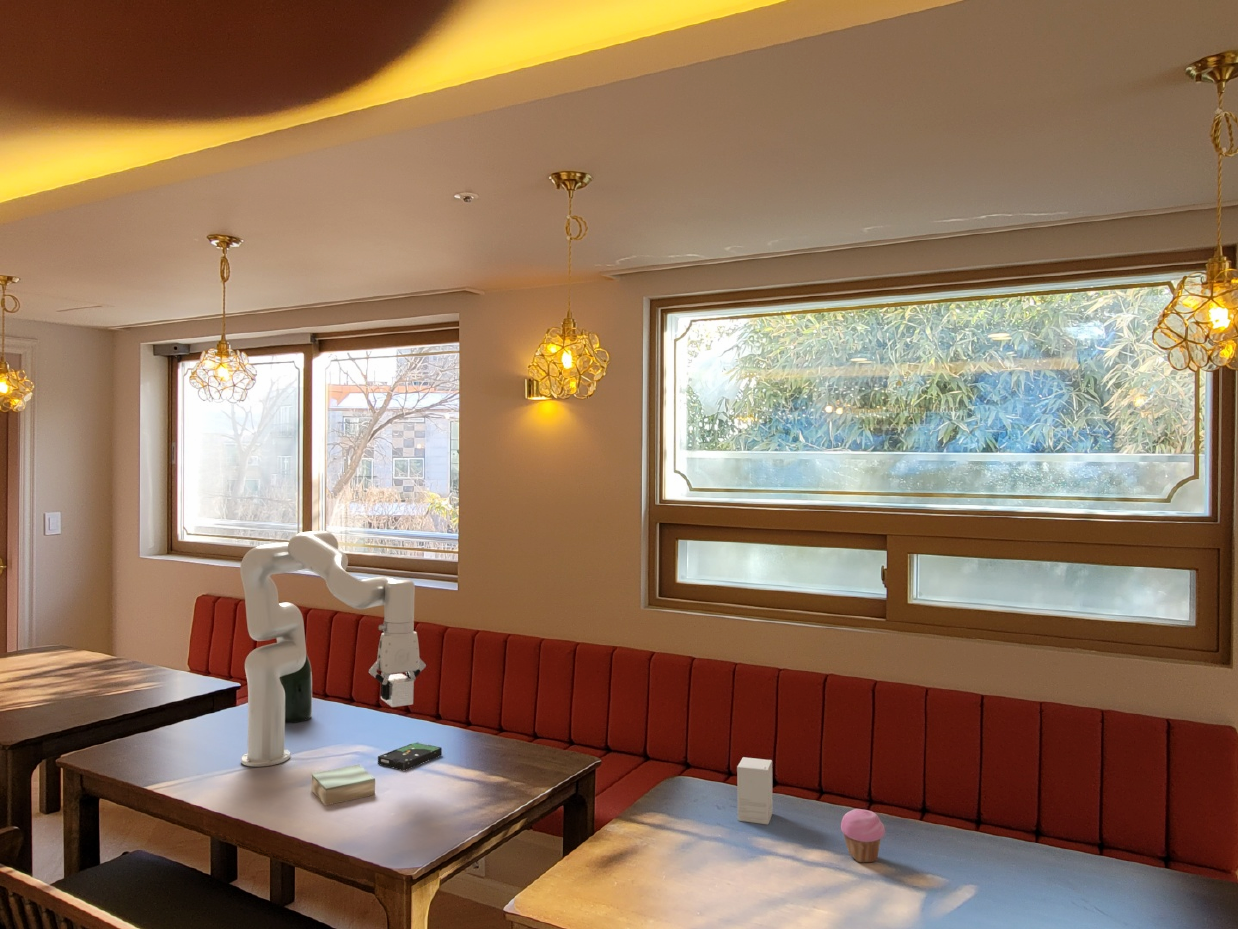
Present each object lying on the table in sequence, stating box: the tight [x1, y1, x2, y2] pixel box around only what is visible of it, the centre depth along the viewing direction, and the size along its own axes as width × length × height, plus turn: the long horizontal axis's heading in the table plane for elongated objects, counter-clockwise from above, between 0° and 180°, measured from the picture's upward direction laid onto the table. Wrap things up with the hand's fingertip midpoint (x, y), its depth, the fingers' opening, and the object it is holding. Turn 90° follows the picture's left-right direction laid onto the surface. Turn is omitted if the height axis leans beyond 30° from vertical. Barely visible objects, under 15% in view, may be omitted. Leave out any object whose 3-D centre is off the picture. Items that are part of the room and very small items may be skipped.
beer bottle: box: [279, 652, 313, 724], centre depth 268 cm, size 10×10×33 cm
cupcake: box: [840, 808, 886, 863], centre depth 172 cm, size 9×9×10 cm
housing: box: [380, 673, 415, 708], centre depth 214 cm, size 9×6×6 cm, turn 34°
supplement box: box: [736, 756, 774, 825], centre depth 193 cm, size 7×7×13 cm
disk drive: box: [377, 741, 443, 771], centre depth 230 cm, size 10×3×15 cm
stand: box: [311, 764, 376, 806], centre depth 206 cm, size 12×12×4 cm
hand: (396, 696), depth 214 cm, fingers closed on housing, 5 cm apart
